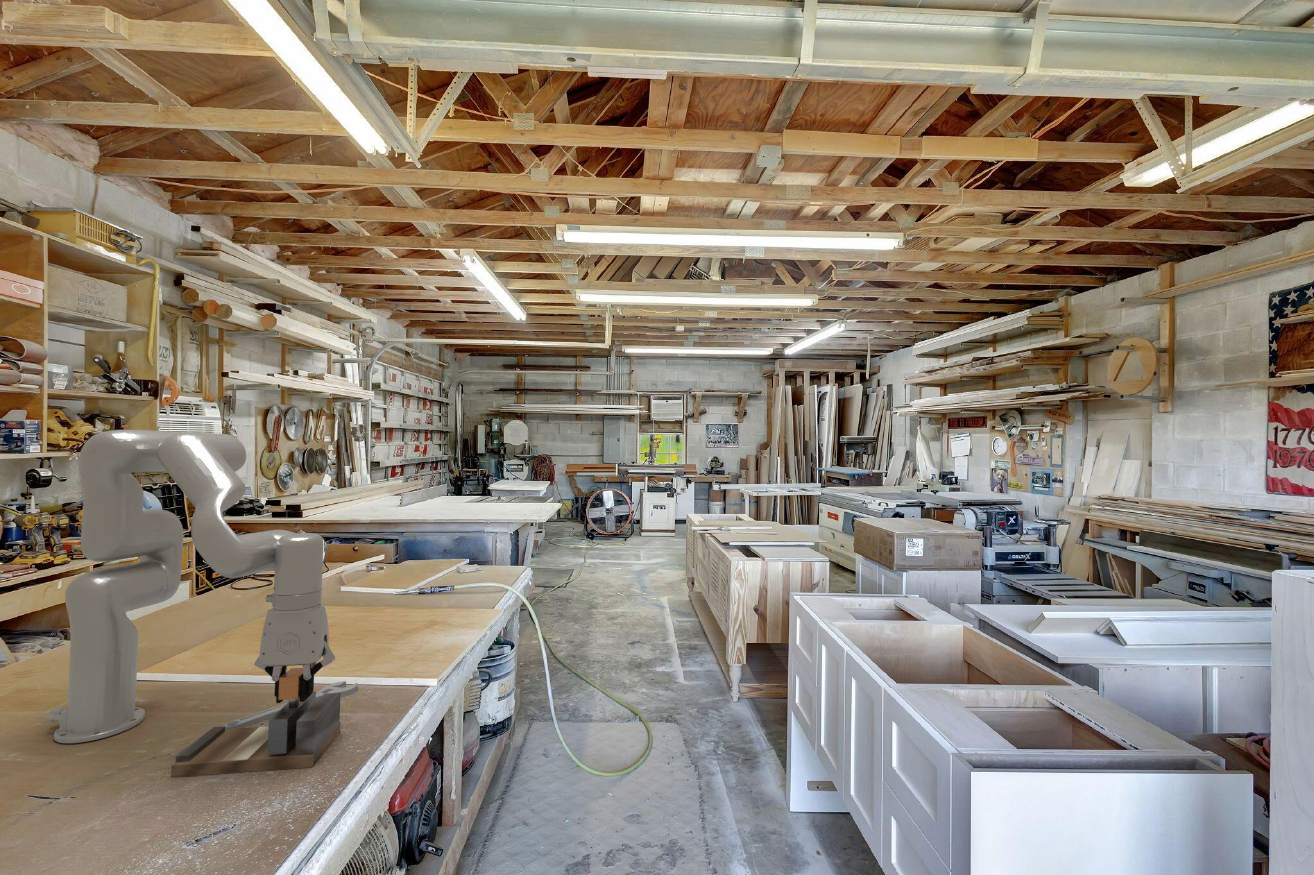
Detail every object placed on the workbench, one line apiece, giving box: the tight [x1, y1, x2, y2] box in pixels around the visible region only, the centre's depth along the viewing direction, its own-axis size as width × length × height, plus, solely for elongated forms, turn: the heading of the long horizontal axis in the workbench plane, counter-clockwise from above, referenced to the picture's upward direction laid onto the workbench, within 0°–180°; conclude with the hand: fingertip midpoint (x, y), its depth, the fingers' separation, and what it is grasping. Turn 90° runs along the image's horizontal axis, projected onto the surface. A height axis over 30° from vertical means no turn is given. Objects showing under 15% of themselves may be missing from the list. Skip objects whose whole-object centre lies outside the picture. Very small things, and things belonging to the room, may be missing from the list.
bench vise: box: [170, 693, 342, 778], centre depth 99 cm, size 22×12×8 cm, turn 100°
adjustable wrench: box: [223, 680, 359, 729], centre depth 117 cm, size 25×6×2 cm, turn 141°
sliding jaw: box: [267, 667, 317, 755], centre depth 100 cm, size 3×11×12 cm, turn 10°
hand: (294, 698), depth 100 cm, fingers closed on sliding jaw, 3 cm apart
